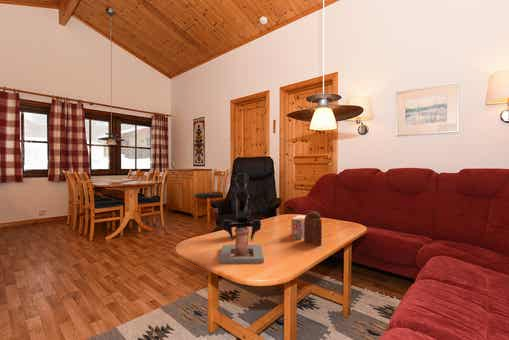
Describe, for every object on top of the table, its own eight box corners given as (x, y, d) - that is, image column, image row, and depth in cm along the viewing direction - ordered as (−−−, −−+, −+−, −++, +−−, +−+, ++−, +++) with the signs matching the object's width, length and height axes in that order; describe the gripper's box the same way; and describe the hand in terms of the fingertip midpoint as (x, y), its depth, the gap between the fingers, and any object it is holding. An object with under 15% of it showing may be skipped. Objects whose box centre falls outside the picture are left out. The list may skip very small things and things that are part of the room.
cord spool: (232, 255, 123) (232, 228, 122) (244, 253, 126) (245, 227, 126) (238, 260, 117) (238, 232, 117) (251, 257, 120) (251, 230, 120)
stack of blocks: (302, 230, 170) (302, 212, 170) (311, 231, 167) (312, 213, 167) (291, 238, 152) (291, 218, 151) (301, 240, 149) (301, 219, 148)
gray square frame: (222, 248, 132) (222, 245, 132) (260, 248, 133) (260, 244, 133) (219, 263, 113) (219, 258, 113) (263, 262, 114) (263, 258, 114)
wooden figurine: (325, 243, 142) (326, 212, 142) (319, 246, 137) (320, 213, 137) (307, 239, 150) (307, 209, 150) (301, 241, 146) (301, 210, 145)
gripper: (223, 203, 125) (221, 232, 114) (260, 203, 126) (262, 232, 115) (224, 216, 133) (222, 243, 122) (259, 216, 134) (260, 243, 123)
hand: (241, 240), depth 120 cm, fingers open, 9 cm apart
